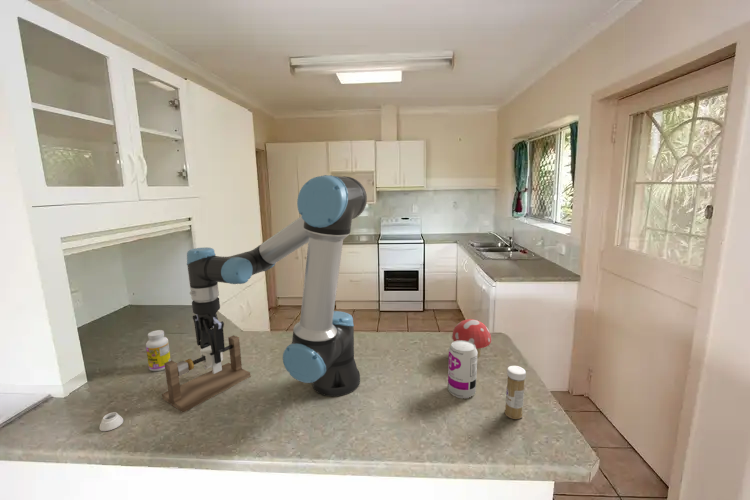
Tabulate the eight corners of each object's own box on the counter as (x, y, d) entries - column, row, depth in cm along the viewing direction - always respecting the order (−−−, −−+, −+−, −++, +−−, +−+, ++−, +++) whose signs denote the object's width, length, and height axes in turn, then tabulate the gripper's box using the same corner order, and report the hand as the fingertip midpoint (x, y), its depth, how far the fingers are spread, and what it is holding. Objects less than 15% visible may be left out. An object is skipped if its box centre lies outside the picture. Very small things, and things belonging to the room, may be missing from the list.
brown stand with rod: (250, 376, 114) (247, 340, 111) (183, 412, 96) (177, 370, 93) (229, 366, 120) (225, 332, 118) (162, 398, 102) (156, 359, 100)
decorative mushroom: (469, 373, 114) (471, 331, 111) (443, 356, 126) (444, 317, 123) (498, 363, 120) (500, 323, 118) (471, 348, 132) (472, 311, 129)
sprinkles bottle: (501, 409, 96) (504, 365, 93) (517, 408, 96) (520, 364, 94) (509, 420, 91) (512, 374, 89) (525, 419, 92) (529, 373, 89)
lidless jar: (124, 426, 91) (122, 417, 95) (122, 416, 90) (120, 407, 94) (100, 435, 88) (99, 425, 91) (98, 425, 87) (97, 415, 91)
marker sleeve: (223, 359, 109) (221, 347, 108) (208, 366, 105) (206, 353, 104) (216, 356, 111) (214, 343, 111) (201, 363, 107) (199, 350, 106)
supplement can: (456, 401, 99) (457, 353, 97) (443, 386, 107) (444, 341, 104) (480, 397, 102) (483, 350, 99) (466, 382, 109) (468, 338, 107)
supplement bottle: (144, 369, 119) (139, 334, 116) (163, 360, 125) (158, 327, 122) (157, 373, 116) (152, 338, 114) (175, 364, 122) (171, 330, 120)
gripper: (178, 297, 106) (187, 366, 110) (209, 307, 97) (217, 383, 101) (202, 291, 112) (209, 357, 117) (233, 300, 103) (239, 372, 107)
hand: (213, 369), depth 109 cm, fingers closed on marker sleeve, 4 cm apart
